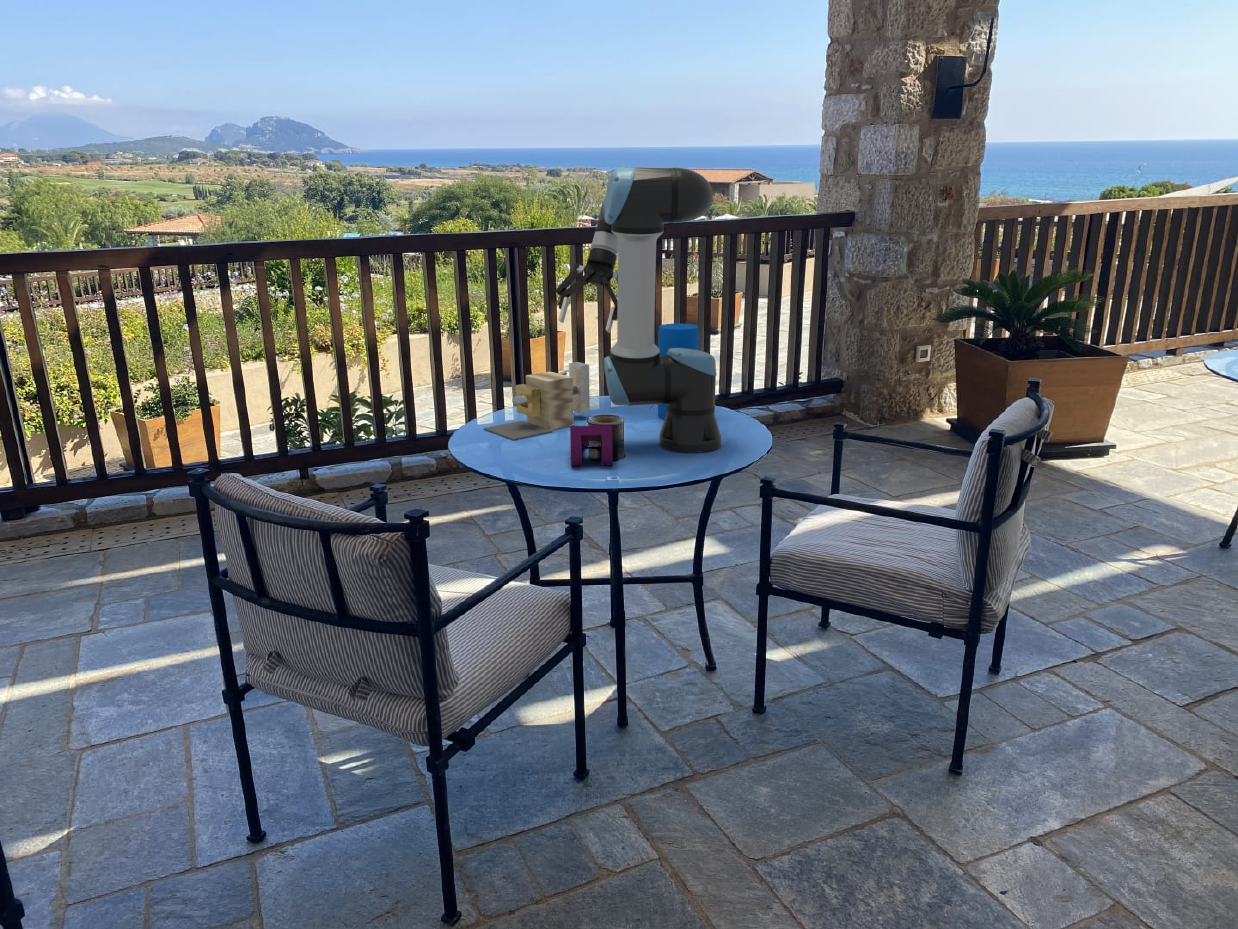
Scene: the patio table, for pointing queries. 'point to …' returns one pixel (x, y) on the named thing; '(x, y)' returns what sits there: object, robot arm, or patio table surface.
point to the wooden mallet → (579, 388)
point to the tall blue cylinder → (676, 345)
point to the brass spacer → (529, 400)
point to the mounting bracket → (591, 433)
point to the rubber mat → (517, 430)
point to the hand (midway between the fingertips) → (584, 326)
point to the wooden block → (553, 400)
